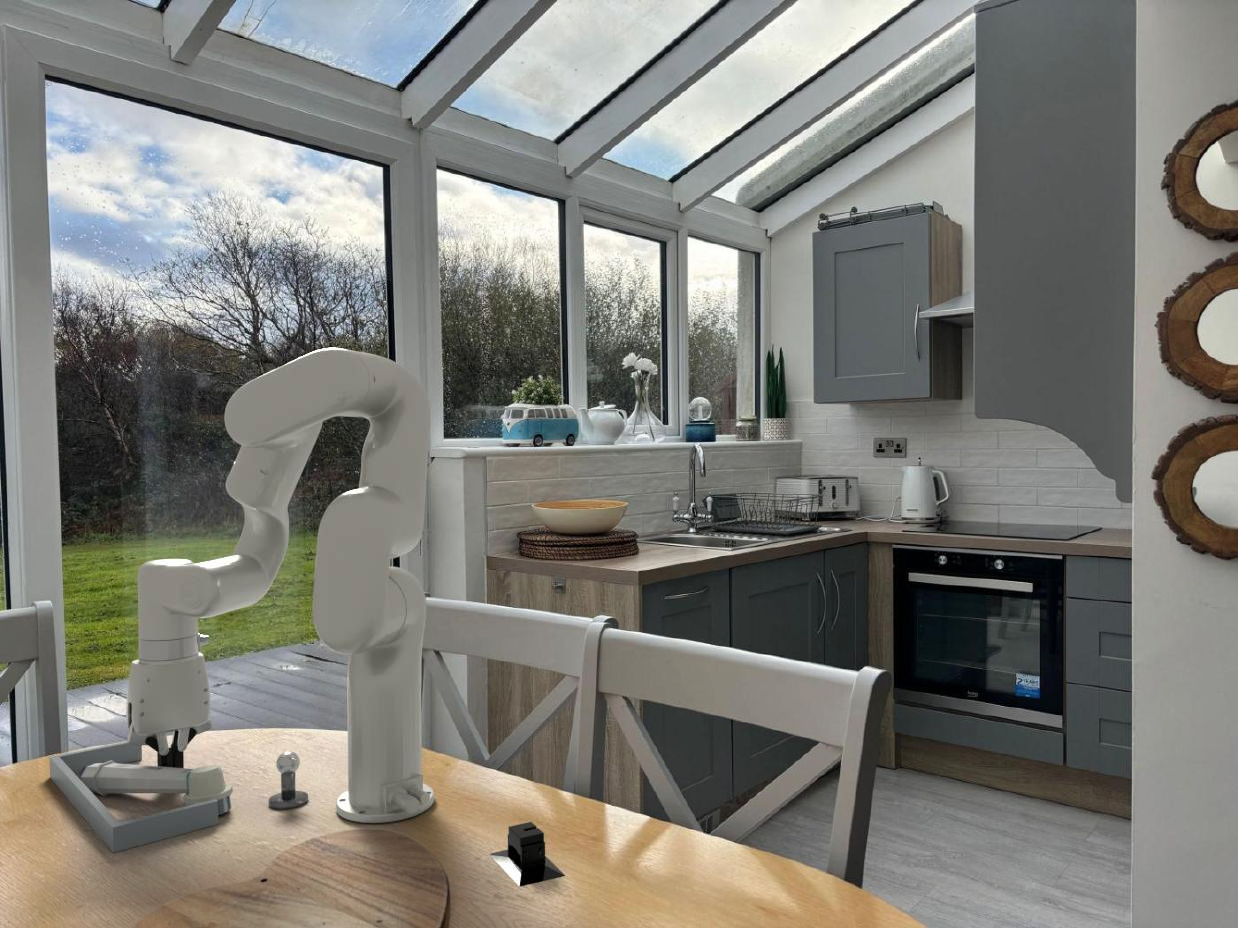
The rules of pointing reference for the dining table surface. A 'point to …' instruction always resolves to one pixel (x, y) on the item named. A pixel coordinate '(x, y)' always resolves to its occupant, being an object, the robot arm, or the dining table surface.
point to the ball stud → (288, 784)
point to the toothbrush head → (159, 781)
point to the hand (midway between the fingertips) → (170, 778)
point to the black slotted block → (526, 856)
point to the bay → (105, 821)
